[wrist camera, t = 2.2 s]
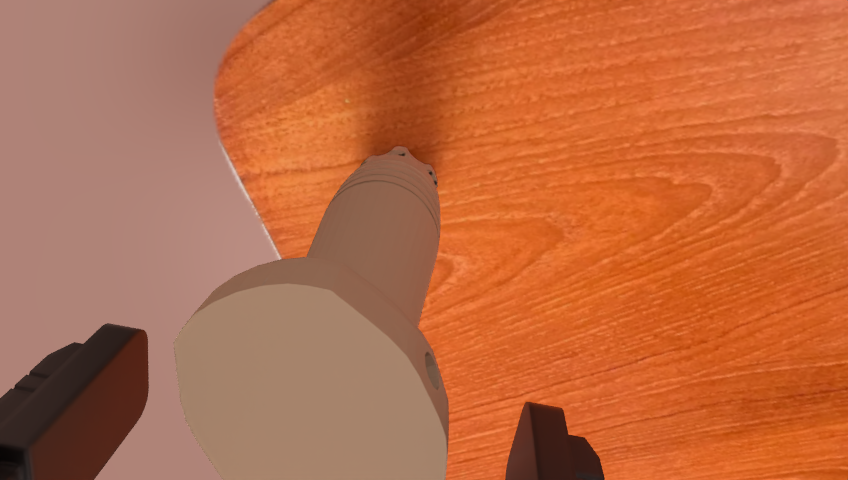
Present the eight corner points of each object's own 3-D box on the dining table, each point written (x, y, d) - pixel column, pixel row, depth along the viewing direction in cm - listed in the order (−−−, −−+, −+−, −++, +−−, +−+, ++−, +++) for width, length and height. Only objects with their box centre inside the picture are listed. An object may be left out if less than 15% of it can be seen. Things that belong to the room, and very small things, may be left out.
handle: (424, 87, 24) (359, 250, 11) (480, 231, 26) (487, 518, 13) (313, 131, 25) (123, 330, 12) (376, 265, 27) (280, 566, 14)
